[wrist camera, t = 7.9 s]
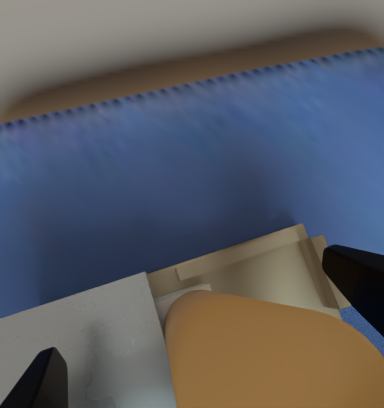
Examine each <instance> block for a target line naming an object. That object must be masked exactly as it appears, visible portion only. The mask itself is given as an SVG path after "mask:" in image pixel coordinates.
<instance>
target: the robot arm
mask: <svg viewBox="0 0 384 408" xmlns="http://www.w3.org/2000/svg"><path fill="white" fill-rule="evenodd" d="M321 265H322V269H323V271H324V273H325V274H326V275H327V276H328V278H329V279H330V280H331V281H332V282H333V284H334V285H335V286H336V287H337V289H338V290H339V291H340V292H341V293H342V295H343V296H344V297H345V298H346V299H347V301H348V302H349V303H350V304H351V305H352V306H353V307H354V308H355V309H356V310H357V311H358V312H359V313H360V314H361V315H362V316H363V317H364V318H365V319H366V320H367V321H368V322H369V323H370V324H371V325H372V326H373V327H374V328H375V329H376V330H377V331H378V332H379V333H380V334H381V335H382V336H383V337H384V255H380V254H376V253H371V252H367V251H363V250H358V249H354V248H349V247H345V246H340V245H331V246H328V247H326V248H324V250H323V256H322V264H321ZM0 408H69V407H68V368H67V364H66V361H65V360H64V358H63V357H62V355H61V354H60V353H59V351H58V350H57V348H56V347H50V348H47V349H45V350H42V351H40V352H39V353H38V354H37V356H36V357H35V358H34V360H33V361H32V362H31V364H30V365H29V367H28V368H27V369H26V371H25V372H24V373H23V375H22V376H21V377H20V379H19V380H18V382H17V383H16V384H15V386H14V387H13V388H12V390H11V391H10V392H9V394H8V395H7V397H6V398H5V399H4V401H3V402H2V403H1V405H0Z"/></svg>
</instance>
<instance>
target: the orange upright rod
mask: <svg viewBox="0 0 384 408" xmlns="http://www.w3.org/2000/svg"><path fill="white" fill-rule="evenodd" d="M153 300H154V303H155V307H156V310H157V314H158V317H159V321H160V325H161V328H162V332H163V335H164V339H165V342H166V347H167V353H168V359H169V365H170V371H171V376H172V382H173V388H174V394H175V400H176V405H177V408H384V357H383V356H382V355H381V353H380V352H379V351H378V350H377V348H376V347H375V346H374V345H373V344H372V343H371V342H370V341H369V340H368V339H367V338H366V337H365V336H364V335H362V334H361V333H360V332H359V331H357V330H356V329H355V328H354V327H352V326H350V325H349V324H347V323H346V322H344V321H342V320H340V319H338V318H336V317H334V316H331V315H329V314H326V313H323V312H319V311H316V310H311V309H305V308H300V307H295V306H289V305H284V304H279V303H273V302H268V301H263V300H257V299H252V298H247V297H241V296H236V295H231V294H225V293H220V292H215V291H212V290H211V287H210V284H202V283H199V284H196V285H193V286H190V287H187V288H184V289H182V290H179V291H176V292H173V293H170V294H167V295H164V296H161V297H159V298H156V299H153Z"/></svg>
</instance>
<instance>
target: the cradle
mask: <svg viewBox="0 0 384 408" xmlns="http://www.w3.org/2000/svg"><path fill="white" fill-rule="evenodd" d="M326 247H328V245H327V243H326V240H325V238H324V235H323V234H322V235H318V236H315V237H311V238H308V235H307V233H306V231H305V228H304V226H303V223H301V224H298V225H295V226H292V227H289V228H286V229H283V230H280V231H277V232H274V233H271V234H268V235H265V236H261V237H258V238H255V239H252V240H249V241H246V242H243V243H240V244H237V245H234V246H231V247H228V248H225V249H222V250H219V251H216V252H213V253H210V254H207V255H204V256H201V257H198V258H195V259H192V260H188V261H185V262H182V263H179V264H176V265H173V266H170V267H167V268H164V269H161V270H158V271H155V272H152V273H149V274H148V276H149V280H150V283H151V287H152V290H153V294H154V297H155V299H156V298H159V297H161V296H164V295H167V294H170V293H173V292H176V291H179V290H182V289H184V288H187V287H190V286H193V285H196V284H199V283H202V284H210V287H211V290H212V291H215V292H220V293H225V294H231V295H236V296H241V297H247V298H252V299H257V300H263V301H268V302H273V303H279V304H284V305H289V306H295V307H300V308H305V309H311V310H316V311H319V312H323V313H326V314H329V315H331V316H334V317H336V318H338V319H340V320H342V318H341V315H340V313H339V311H338V309H339V310H341V309H343V308H346V307H348V306H351V304H350V303H349V302H348V301H347V299H346V298H345V297H344V296H343V295H342V293H341V292H340V291H339V290H338V289H337V287H336V286H335V285H334V284H333V282H332V281H331V280H330V279H329V278H328V276H327V275H326V274H325V273H324V271H323V269H322V265H321V264H322V256H323V250H324V248H326Z"/></svg>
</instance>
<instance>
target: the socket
mask: <svg viewBox="0 0 384 408" xmlns="http://www.w3.org/2000/svg"><path fill="white" fill-rule="evenodd" d="M153 299H155V297H154V294H153V290H152V287H151V283H150V280H149V276H148V274H147V273H146V272H142V273H139V274H136V275H133V276H129V277H126V278H123V279H120V280H117V281H114V282H111V283H108V284H105V285H102V286H99V287H96V288H93V289H90V290H87V291H84V292H80V293H77V294H74V295H71V296H68V297H65V298H62V299H59V300H56V301H53V302H50V303H47V304H44V305H41V306H38V307H35V308H31V309H28V310H25V311H22V312H19V313H16V314H13V315H10V316H7V317H4V318H1V319H0V405H1V403H2V402H3V401H4V399H5V398H6V397H7V395H8V394H9V392H10V391H11V390H12V388H13V387H14V386H15V384H16V383H17V382H18V380H19V379H20V377H21V376H22V375H23V373H24V372H25V371H26V369H27V368H28V367H29V365H30V364H31V362H32V361H33V360H34V358H35V357H36V356H37V354H38V353H39V352H40V351H42V350H45V349H47V348H50V347H56V348H57V350H58V351H59V353H60V354H61V355H62V357H63V358H64V360H65V361H66V364H67V368H68V407H69V408H177V405H176V400H175V394H174V388H173V382H172V376H171V371H170V365H169V359H168V353H167V347H166V342H165V339H164V335H163V332H162V328H161V325H160V321H159V317H158V314H157V310H156V307H155V303H154V300H153Z"/></svg>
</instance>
